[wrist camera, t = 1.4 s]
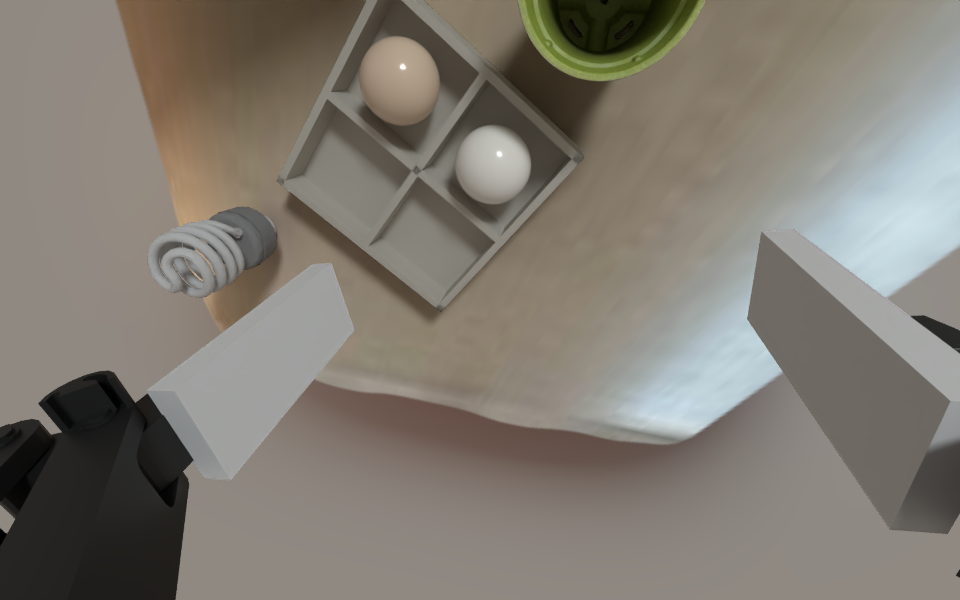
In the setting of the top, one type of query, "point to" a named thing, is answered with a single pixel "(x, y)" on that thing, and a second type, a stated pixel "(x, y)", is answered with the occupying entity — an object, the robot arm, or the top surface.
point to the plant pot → (606, 33)
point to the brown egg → (399, 80)
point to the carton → (420, 158)
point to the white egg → (493, 164)
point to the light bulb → (212, 251)
